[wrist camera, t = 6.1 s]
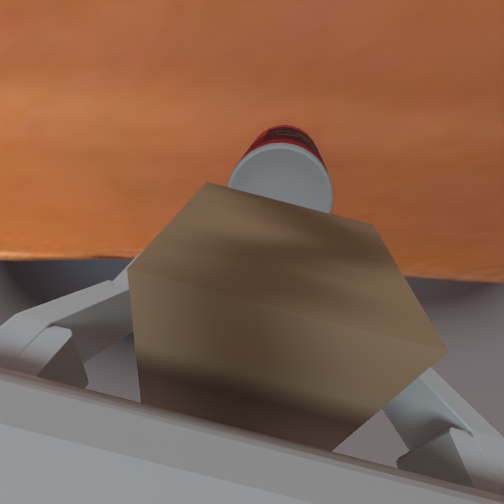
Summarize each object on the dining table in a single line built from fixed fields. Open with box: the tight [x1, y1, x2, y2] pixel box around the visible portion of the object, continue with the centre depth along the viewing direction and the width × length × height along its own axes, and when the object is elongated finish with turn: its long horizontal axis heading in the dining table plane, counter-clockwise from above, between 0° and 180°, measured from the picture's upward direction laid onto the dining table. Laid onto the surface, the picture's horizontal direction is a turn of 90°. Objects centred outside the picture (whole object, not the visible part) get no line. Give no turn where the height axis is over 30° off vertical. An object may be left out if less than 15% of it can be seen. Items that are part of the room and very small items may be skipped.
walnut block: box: [127, 182, 448, 451], centre depth 8 cm, size 6×6×5 cm
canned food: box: [228, 125, 332, 214], centre depth 22 cm, size 8×8×11 cm
